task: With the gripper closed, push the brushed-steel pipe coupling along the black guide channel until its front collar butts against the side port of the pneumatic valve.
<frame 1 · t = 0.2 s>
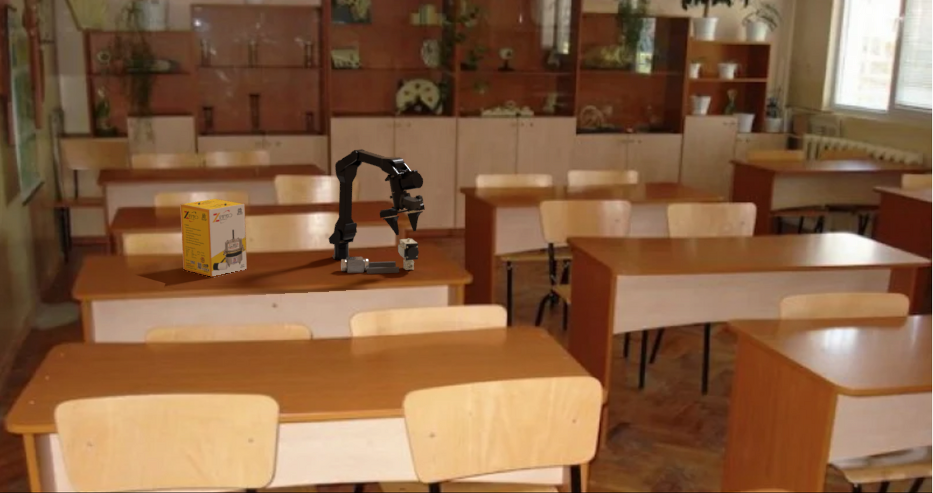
hand: (406, 233, 333), 15 cm above the table, tool pointing down, fingers open, 9 cm apart
pneumatic valve: (407, 269, 342), on the table
packaging box: (215, 270, 334), on the table
guide channel: (381, 270, 340), on the table
coupling: (354, 271, 337), on the table
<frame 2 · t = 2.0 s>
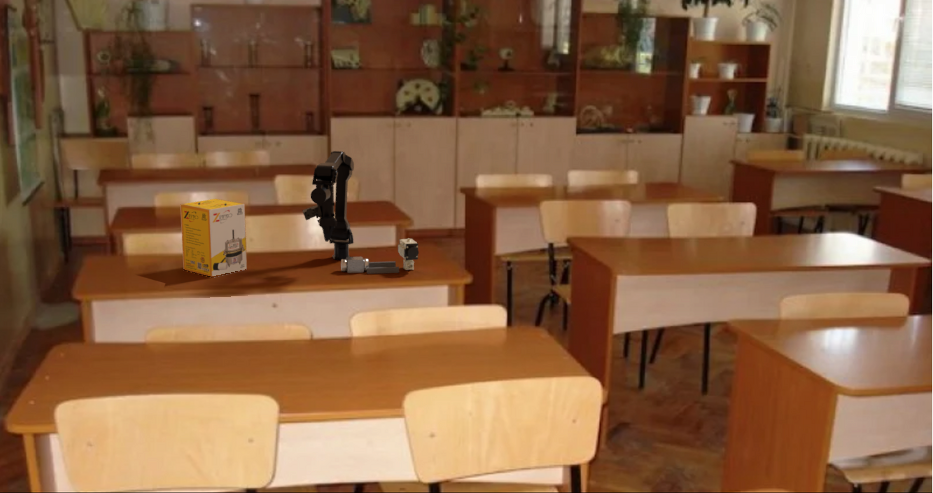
hand: (326, 240, 332), 12 cm above the table, tool pointing down, fingers open, 3 cm apart
nothing on the table moved.
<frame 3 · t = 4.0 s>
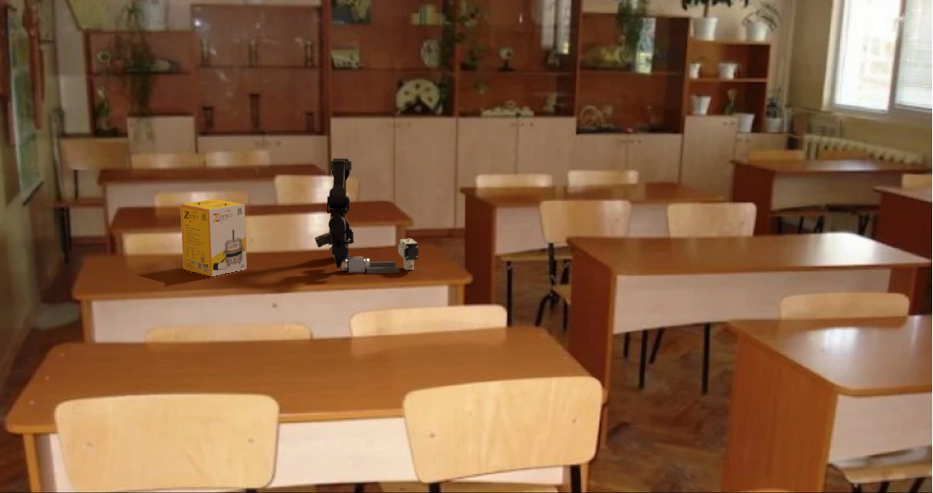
hand: (338, 267, 335), 2 cm above the table, tool pointing down, fingers closed, pressing on coupling
coupling: (356, 270, 337), on the table, touching gripper
everything else where it was.
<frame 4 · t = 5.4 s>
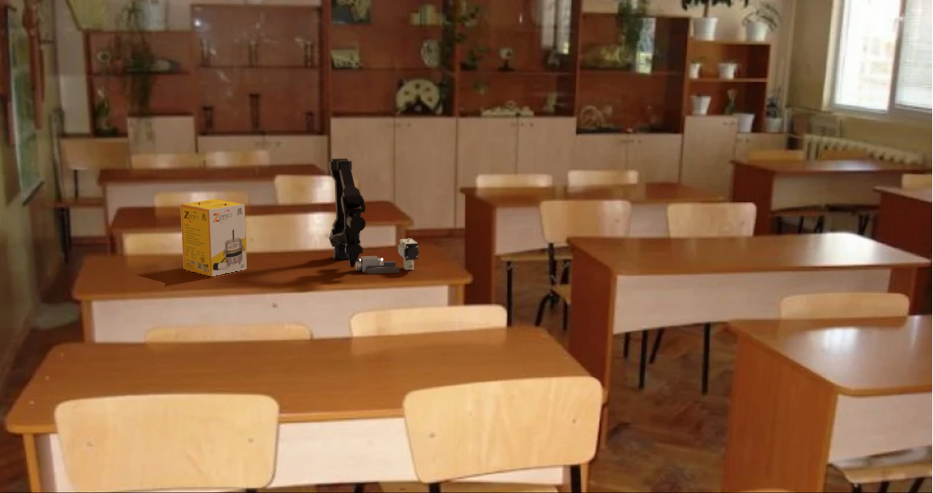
hand: (352, 267, 337), 2 cm above the table, tool pointing down, fingers closed, pressing on coupling
coupling: (369, 270, 338), on the table, touching gripper
everything else where it was.
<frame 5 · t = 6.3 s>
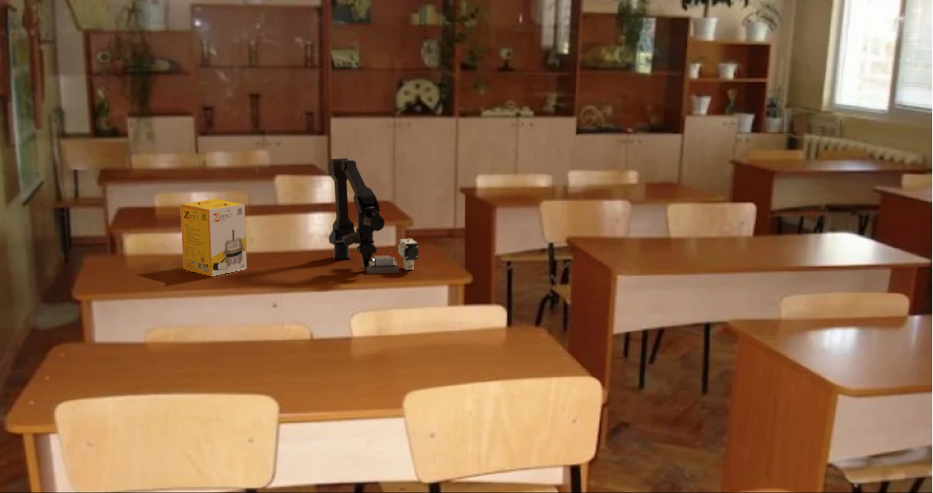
hand: (365, 266, 338), 2 cm above the table, tool pointing down, fingers closed, pressing on coupling
coupling: (382, 270, 340), on the table, touching gripper
everything else where it was.
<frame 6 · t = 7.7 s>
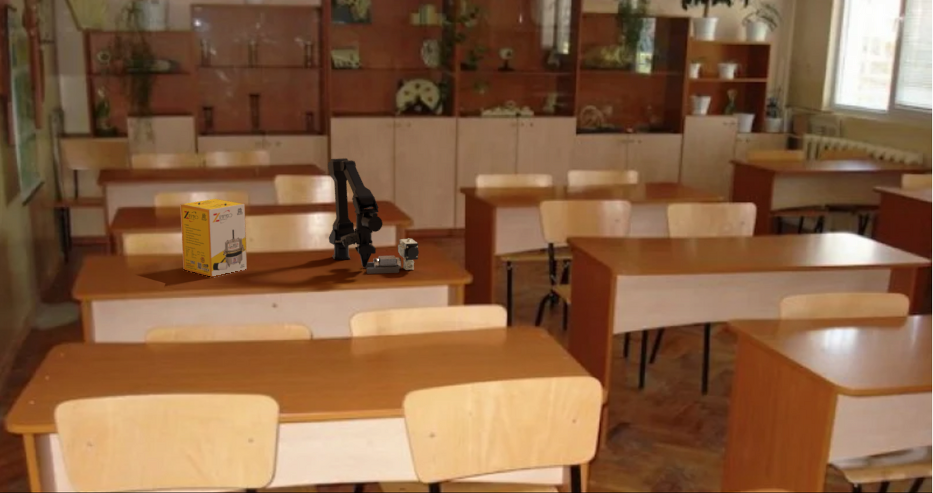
hand: (363, 266, 338), 1 cm above the table, tool pointing down, fingers closed
coupling: (387, 270, 340), on the table
everything else where it was.
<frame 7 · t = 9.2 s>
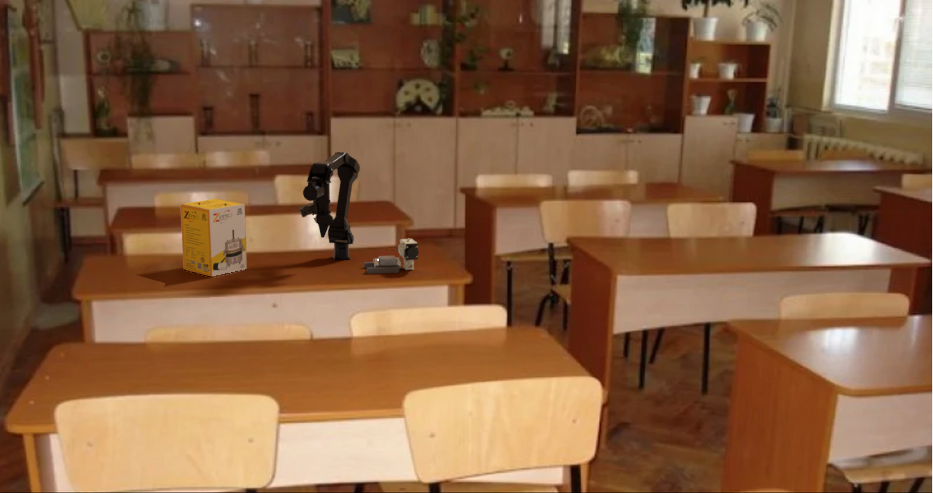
hand: (322, 237, 337), 12 cm above the table, tool pointing down, fingers closed
nothing on the table moved.
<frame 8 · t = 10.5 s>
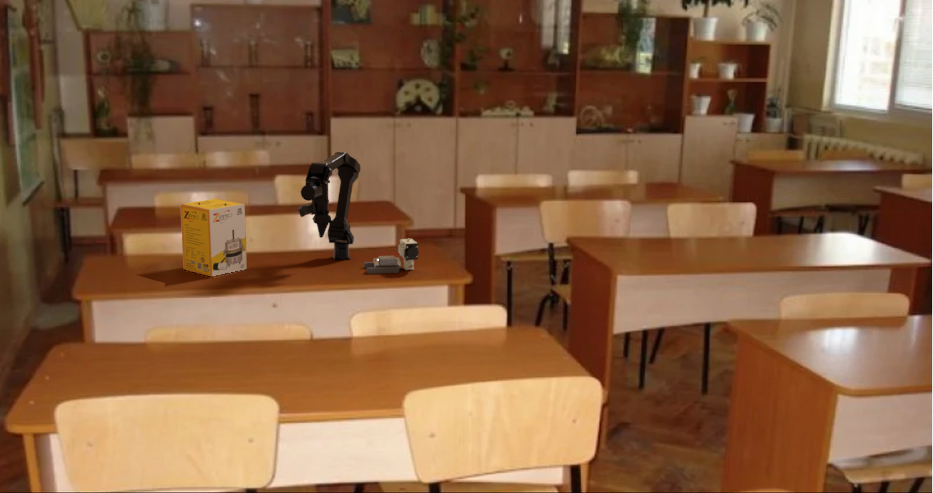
hand: (321, 237, 337), 12 cm above the table, tool pointing down, fingers closed
nothing on the table moved.
at the end: coupling 0.4 cm from the target spot, on the table; coupling 7.8 cm from the pneumatic valve (horizontally); pneumatic valve moved 0.2 cm from its start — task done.
